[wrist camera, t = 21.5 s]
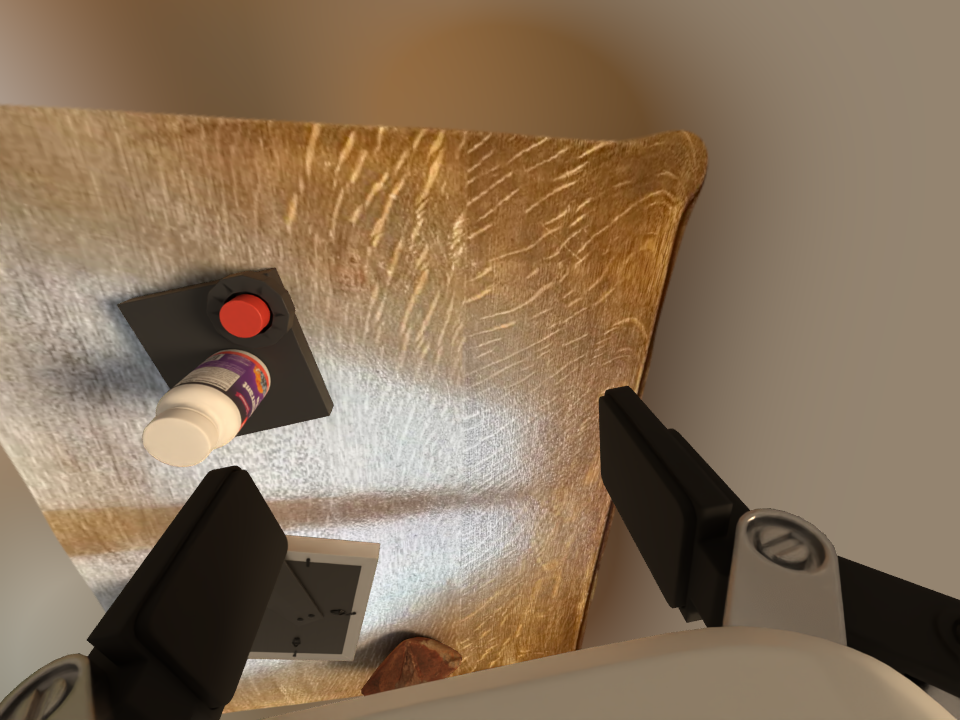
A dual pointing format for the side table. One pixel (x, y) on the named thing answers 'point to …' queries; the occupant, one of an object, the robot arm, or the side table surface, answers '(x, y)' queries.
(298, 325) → the black base plate
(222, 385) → the pill bottle
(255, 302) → the button
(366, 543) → the picture frame
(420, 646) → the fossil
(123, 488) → the side table surface
